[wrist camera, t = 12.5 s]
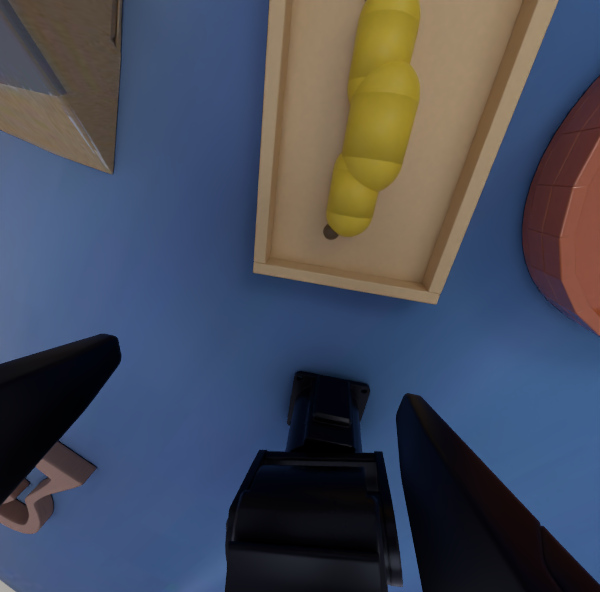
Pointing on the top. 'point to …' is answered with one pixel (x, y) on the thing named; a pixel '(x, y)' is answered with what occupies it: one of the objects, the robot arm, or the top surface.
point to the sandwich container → (62, 76)
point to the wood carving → (45, 489)
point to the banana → (375, 113)
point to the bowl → (568, 216)
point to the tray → (420, 151)
